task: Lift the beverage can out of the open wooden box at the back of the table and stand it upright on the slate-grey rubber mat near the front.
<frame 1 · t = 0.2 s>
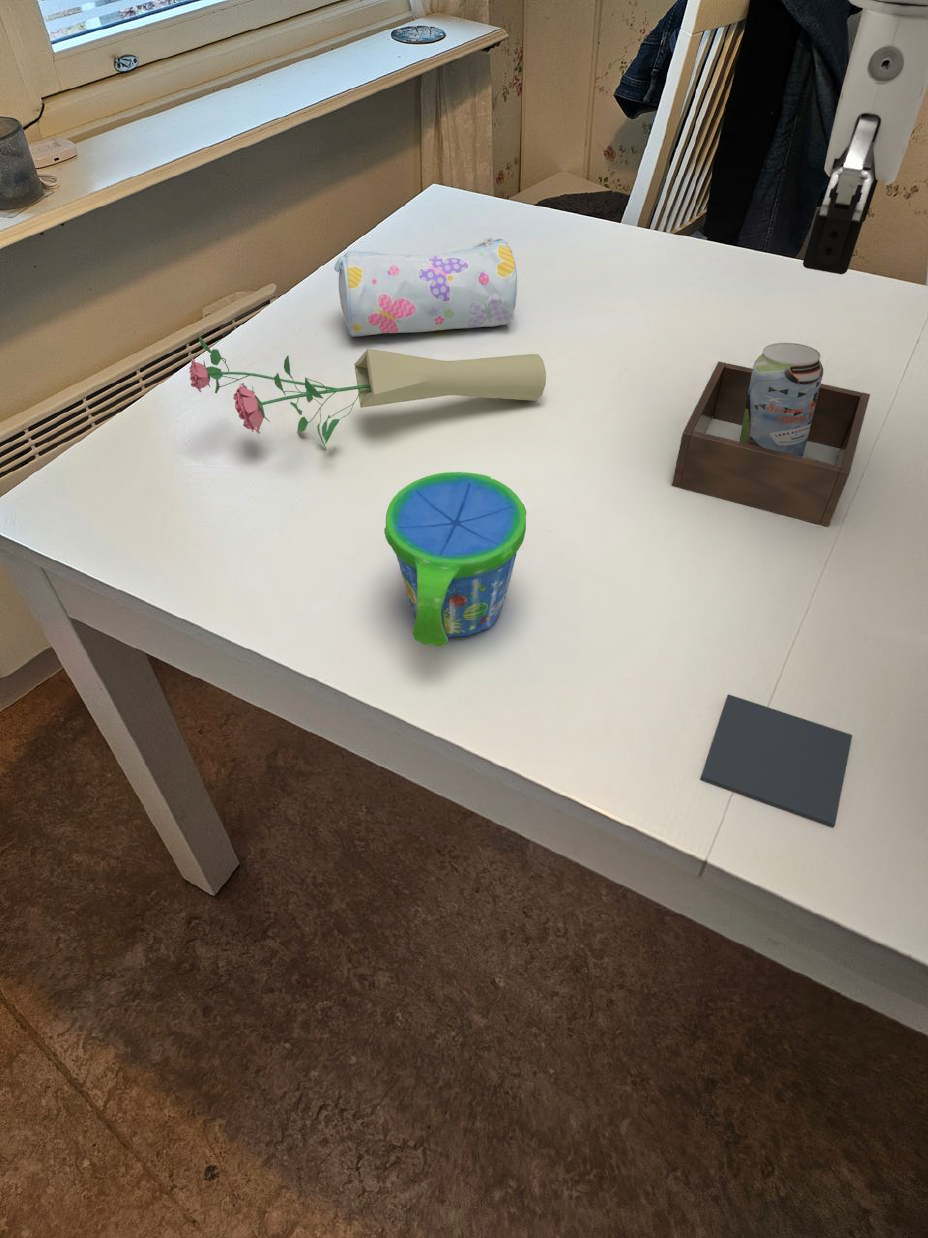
hand: (834, 243, 68), 22 cm above the table, tool pointing down, fingers open, 9 cm apart
flower vase: (382, 430, 90), on the table
snack cup: (457, 609, 72), on the table
pencil case: (429, 328, 104), on the table
mat: (776, 758, 62), on the table
beverage can: (762, 466, 85), resting in open wooden box
open wooden box: (763, 465, 85), on the table
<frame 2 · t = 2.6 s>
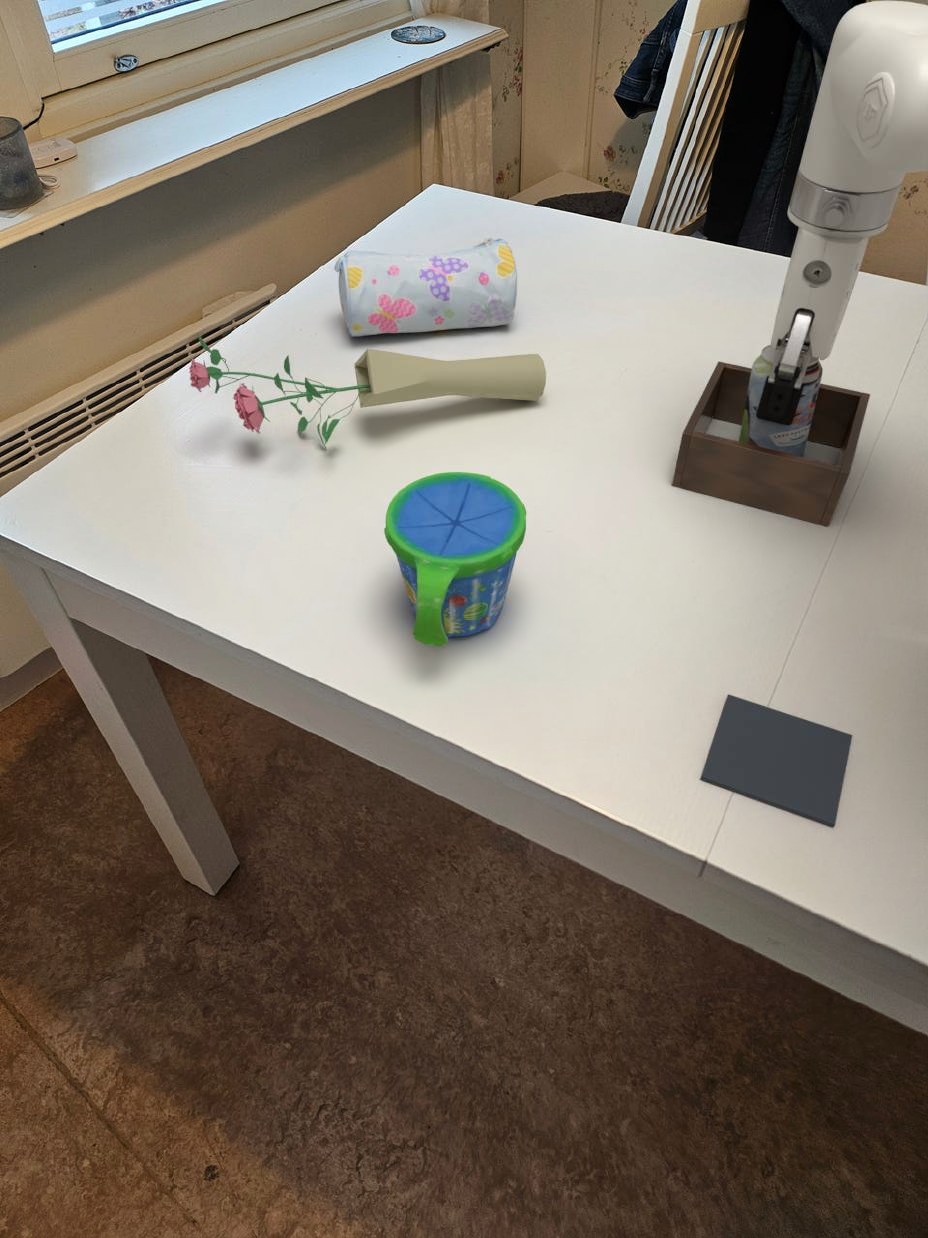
hand: (781, 399, 80), 7 cm above the table, tool pointing down, fingers closed on beverage can, 6 cm apart
beverage can: (763, 465, 85), resting in open wooden box, touching gripper
everything else where it was.
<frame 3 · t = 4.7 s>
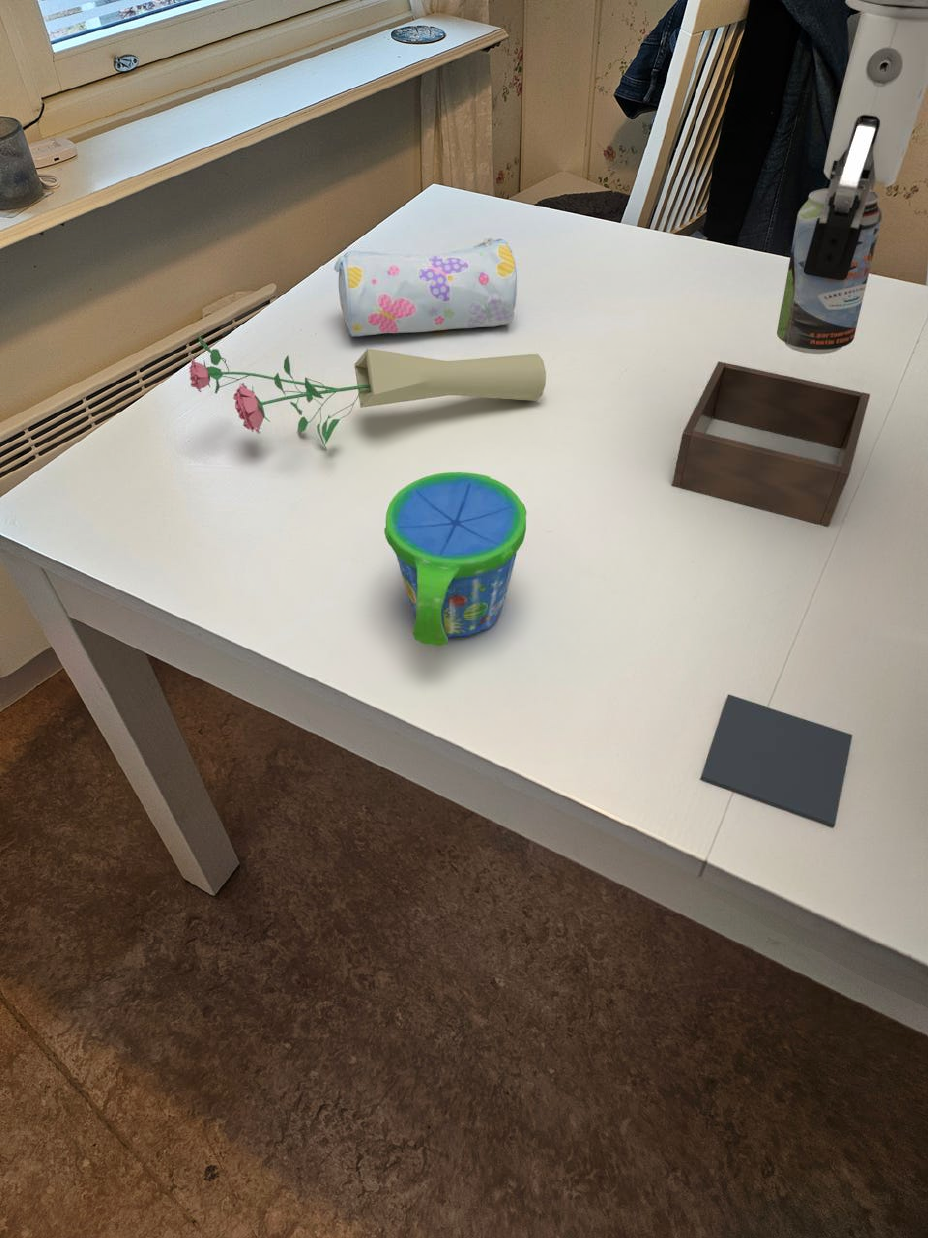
hand: (832, 256, 68), 21 cm above the table, tool pointing down, fingers closed on beverage can, 6 cm apart
beverage can: (807, 344, 73), point 14 cm above the table, touching gripper
everything else where it was.
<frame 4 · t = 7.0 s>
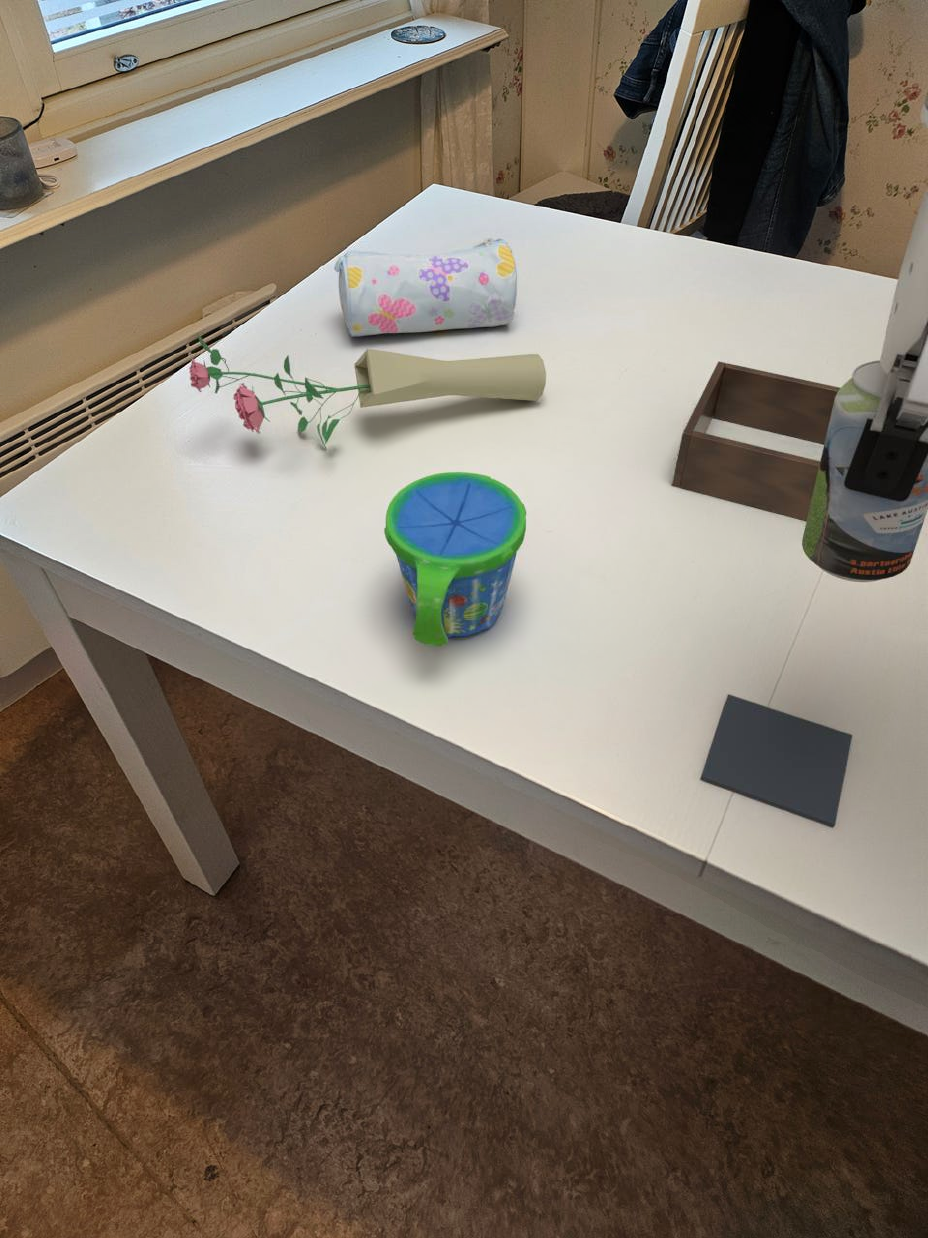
hand: (883, 454, 48), 23 cm above the table, tool pointing down, fingers closed on beverage can, 6 cm apart
beverage can: (844, 557, 53), point 16 cm above the table, touching gripper
everything else where it was.
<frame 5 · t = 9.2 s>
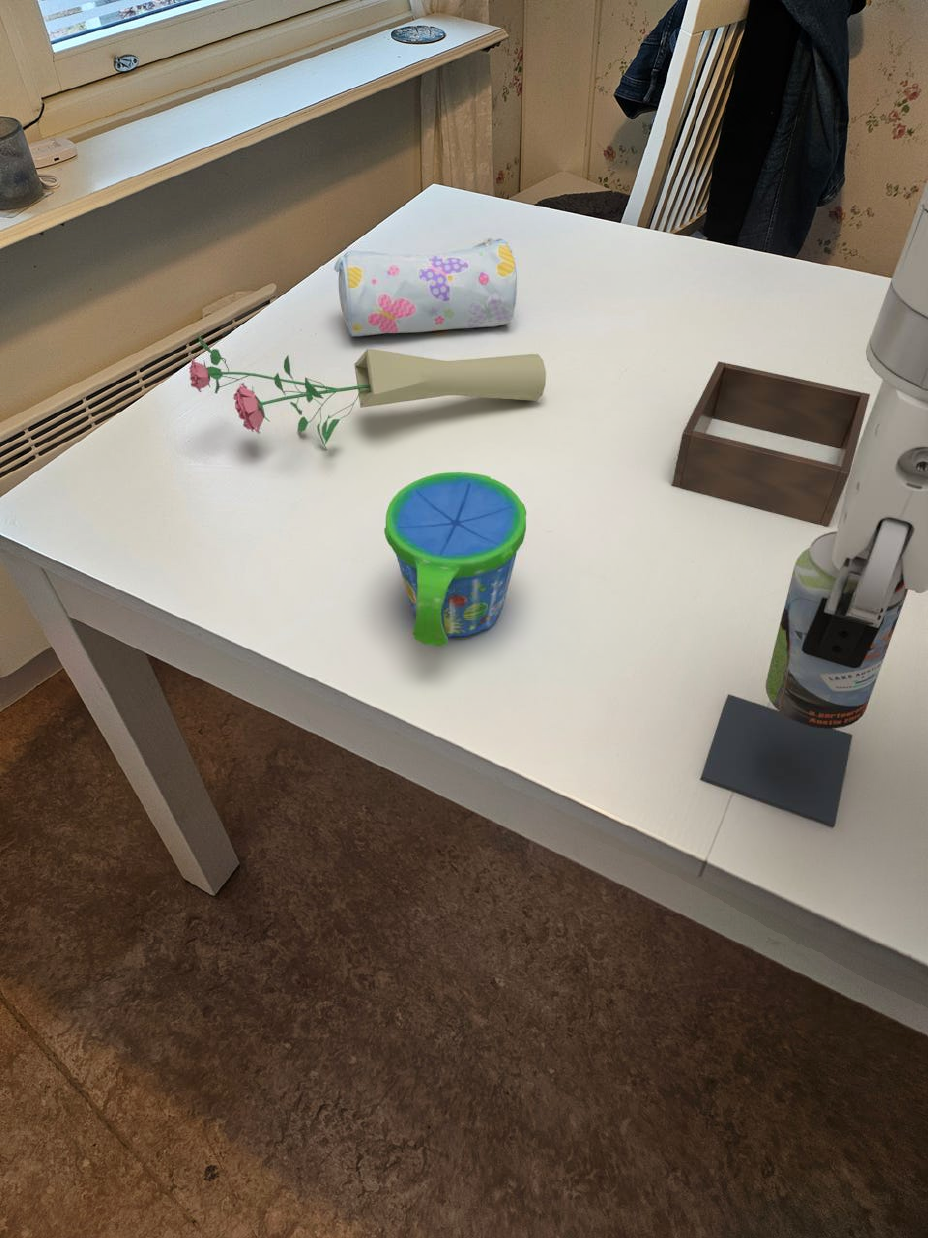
hand: (840, 615, 51), 15 cm above the table, tool pointing down, fingers closed on beverage can, 6 cm apart
beverage can: (805, 696, 56), point 7 cm above the table, touching gripper
everything else where it was.
when the fingers open (8 cm above the table, at t = 11.4 s): beverage can stays where it is, resting on mat.
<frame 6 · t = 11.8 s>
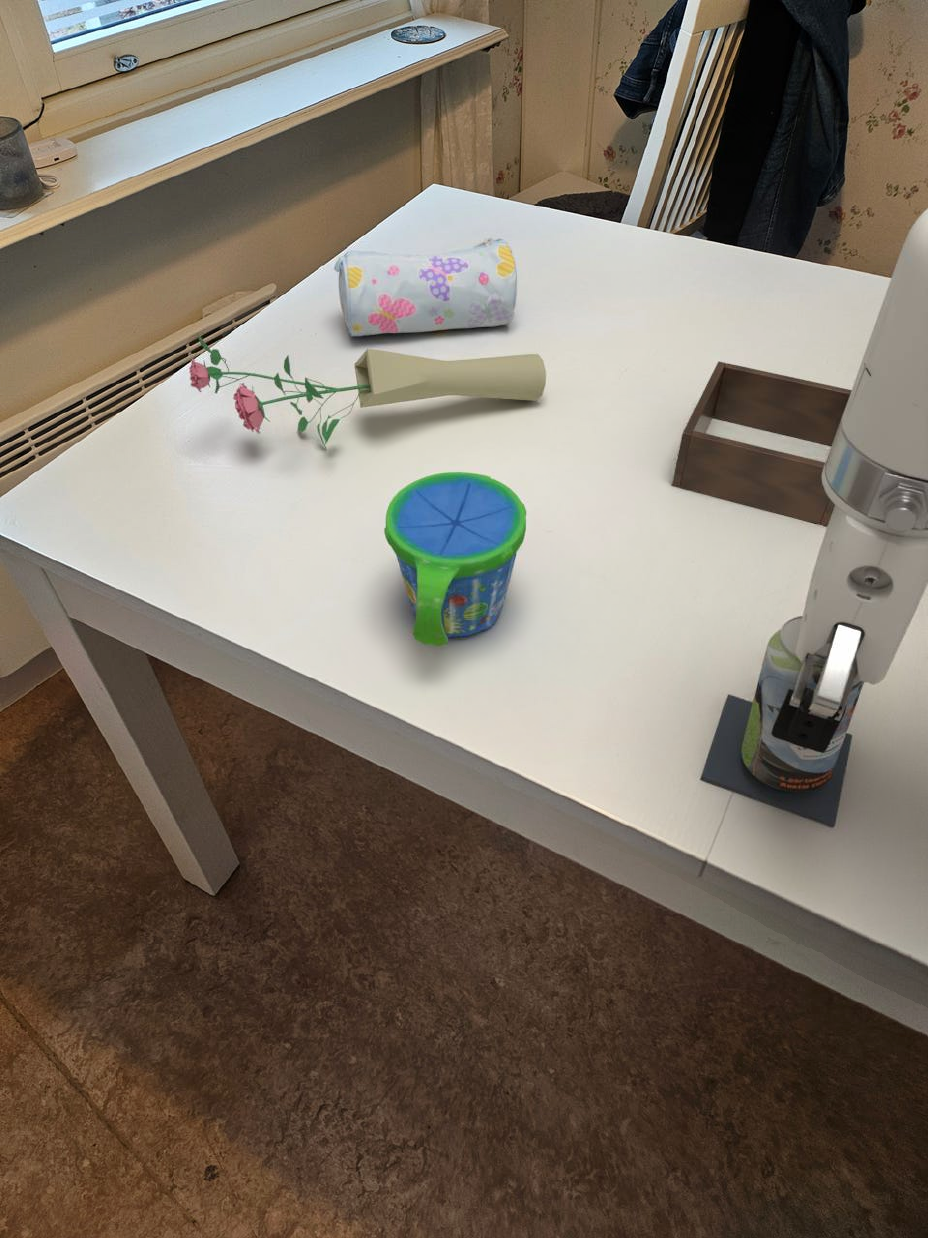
hand: (811, 684, 56), 8 cm above the table, tool pointing down, fingers open, 9 cm apart
beverage can: (778, 760, 61), resting on mat
everything else where it was.
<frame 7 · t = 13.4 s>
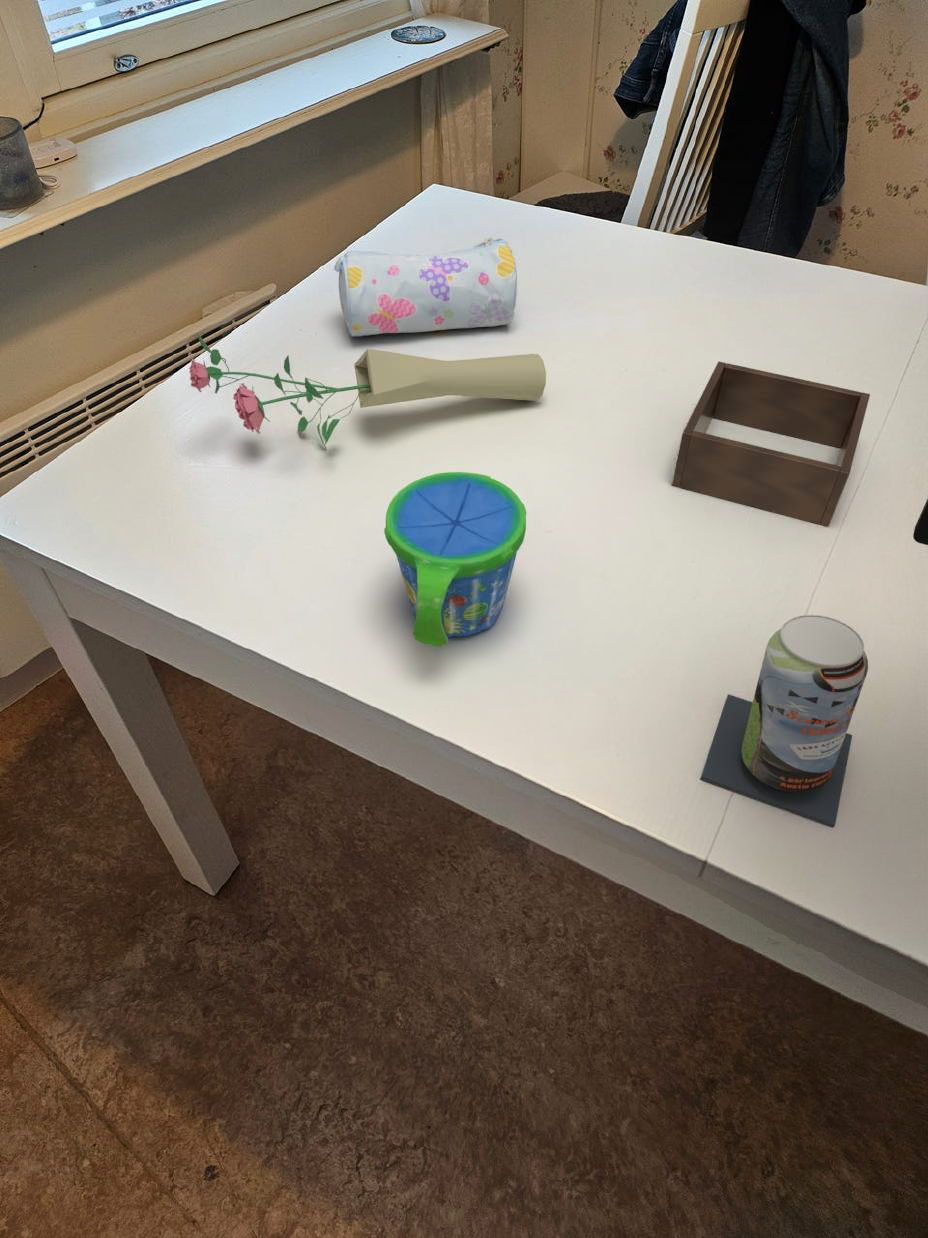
nothing on the table moved.
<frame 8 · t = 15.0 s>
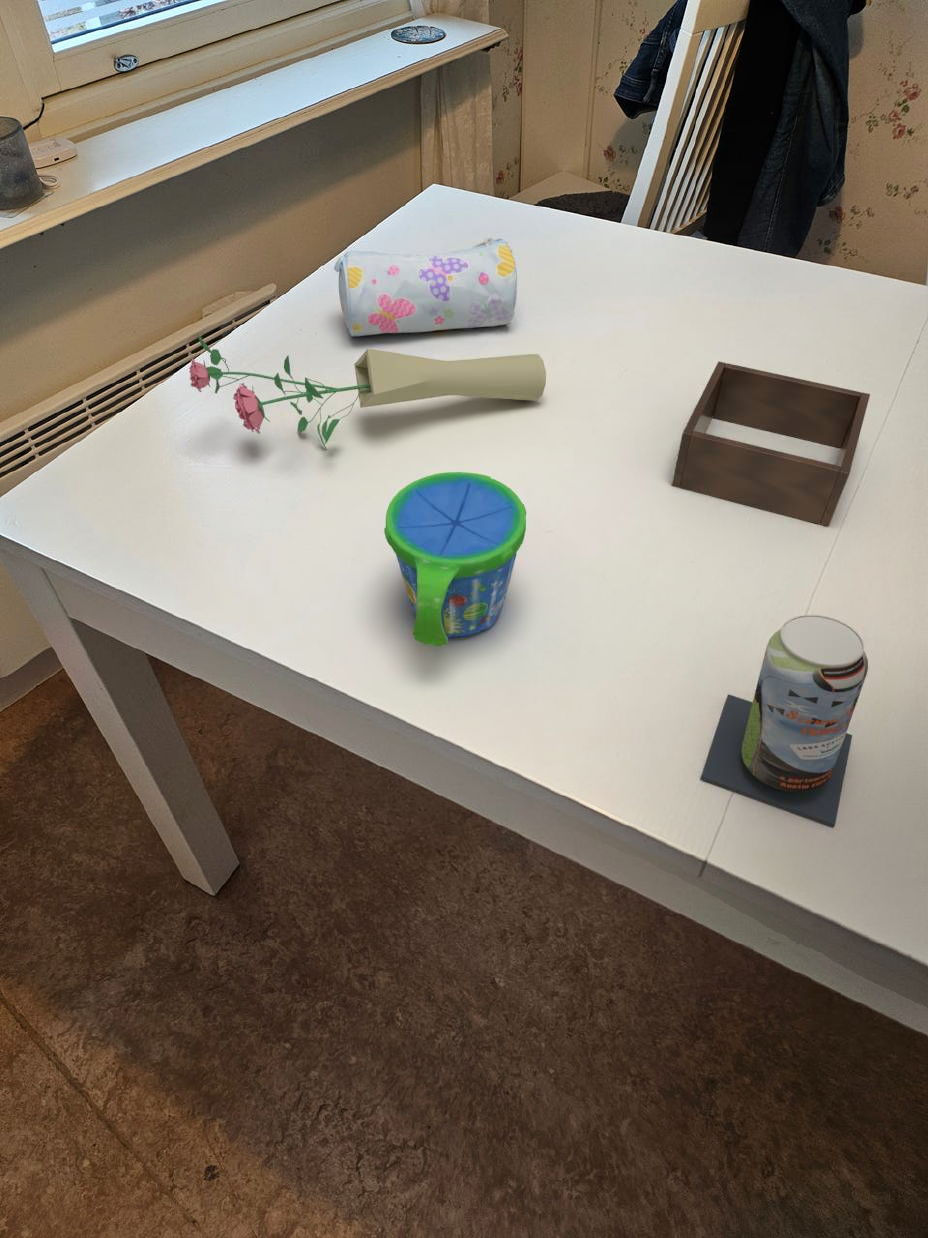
nothing on the table moved.
at the end: beverage can inside the target area on the mat (0.3 cm from its centre), point 0.2 cm above the mat's base; beverage can tilted 0°; beverage can touching mat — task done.
